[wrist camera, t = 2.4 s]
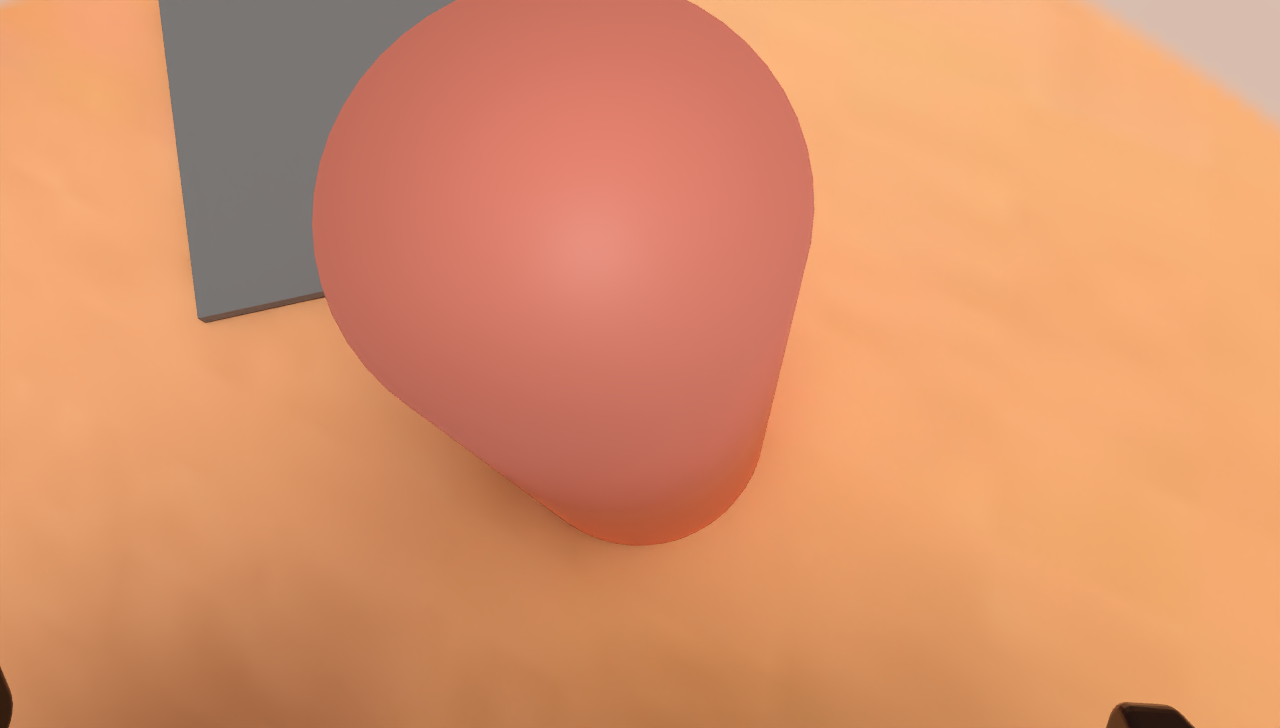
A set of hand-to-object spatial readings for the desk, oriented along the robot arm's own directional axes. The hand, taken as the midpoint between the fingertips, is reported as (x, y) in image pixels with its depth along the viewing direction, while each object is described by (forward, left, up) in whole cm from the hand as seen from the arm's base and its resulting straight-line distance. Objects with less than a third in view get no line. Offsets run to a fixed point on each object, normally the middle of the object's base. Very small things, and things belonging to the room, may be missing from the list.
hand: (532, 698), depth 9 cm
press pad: (+11, +3, -11) cm, 16 cm away
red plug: (+4, -1, -11) cm, 12 cm away
